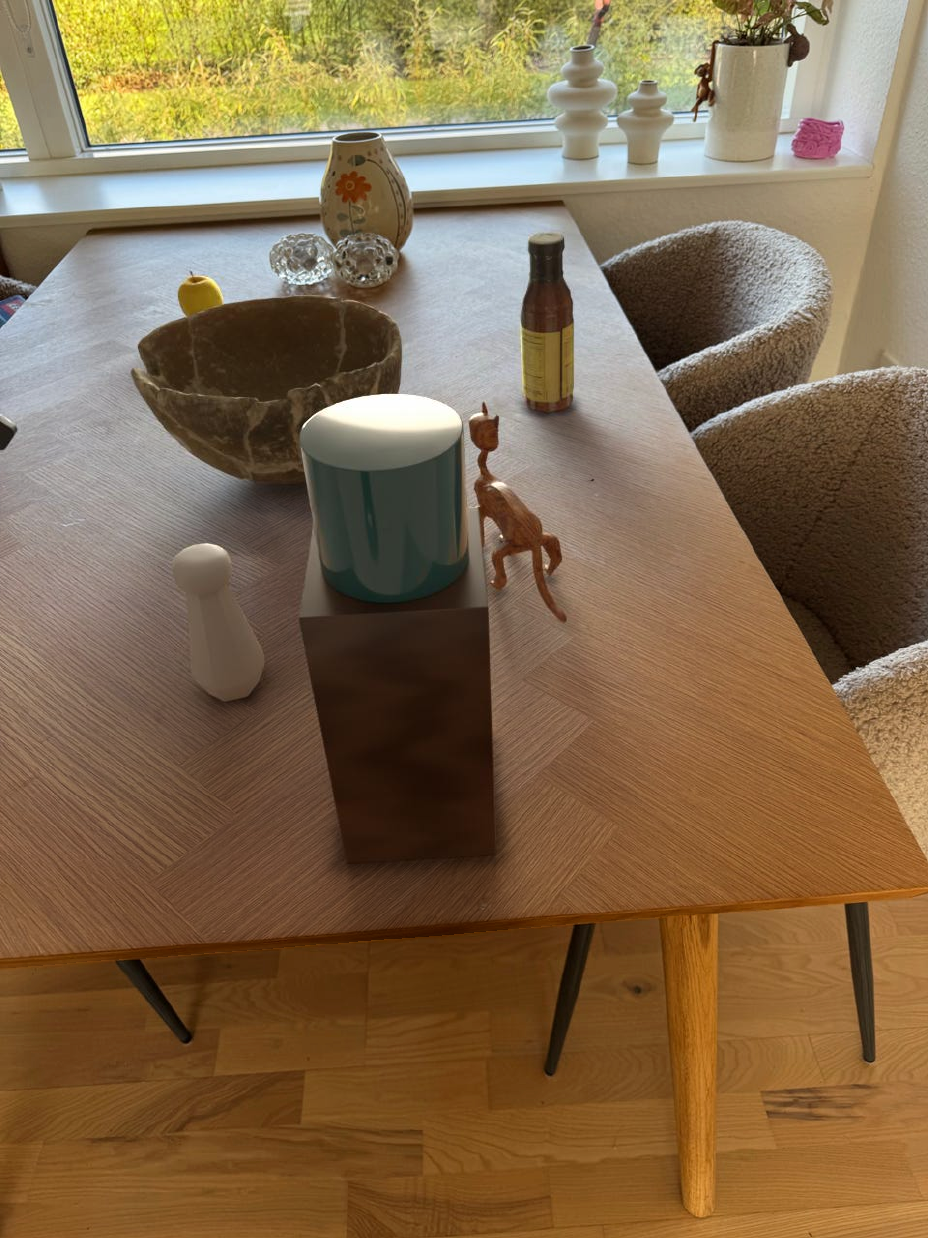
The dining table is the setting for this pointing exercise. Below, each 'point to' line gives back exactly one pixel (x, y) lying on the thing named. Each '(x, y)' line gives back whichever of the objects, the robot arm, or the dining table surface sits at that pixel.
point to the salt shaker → (217, 624)
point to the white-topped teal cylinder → (387, 496)
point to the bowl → (264, 377)
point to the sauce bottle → (547, 327)
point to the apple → (198, 294)
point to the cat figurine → (510, 516)
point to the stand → (406, 713)
